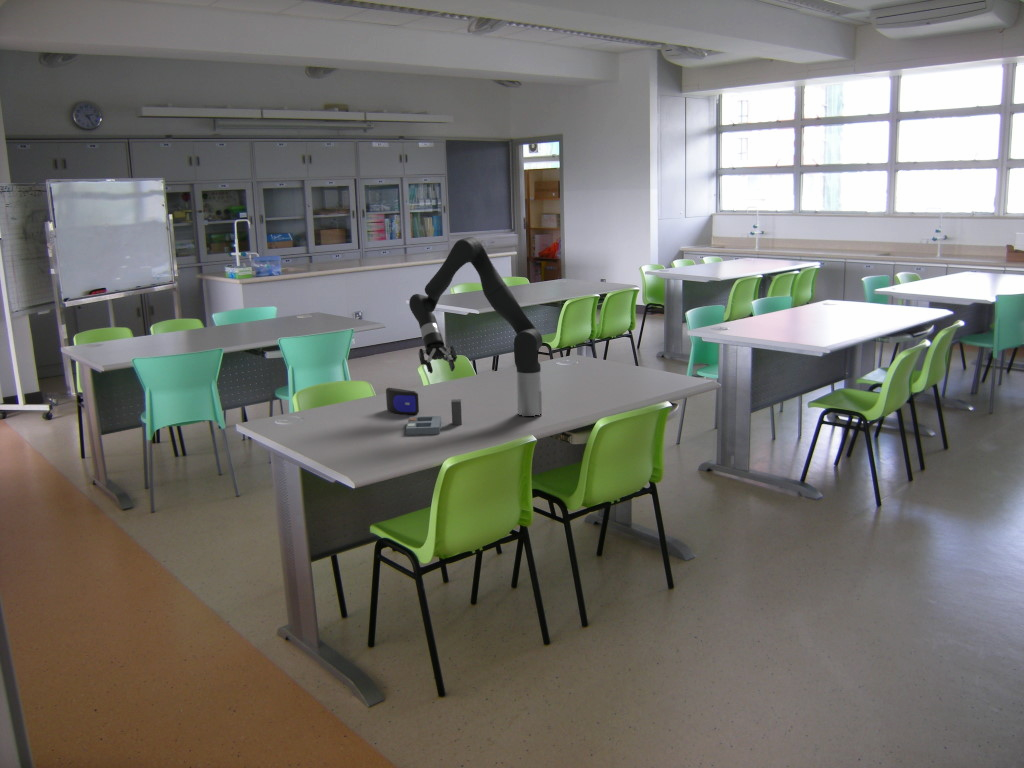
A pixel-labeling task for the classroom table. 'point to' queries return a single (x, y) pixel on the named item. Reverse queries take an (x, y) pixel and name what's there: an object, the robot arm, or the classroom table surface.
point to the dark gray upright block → (456, 412)
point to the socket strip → (423, 425)
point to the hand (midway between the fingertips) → (442, 371)
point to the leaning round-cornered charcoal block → (402, 401)
